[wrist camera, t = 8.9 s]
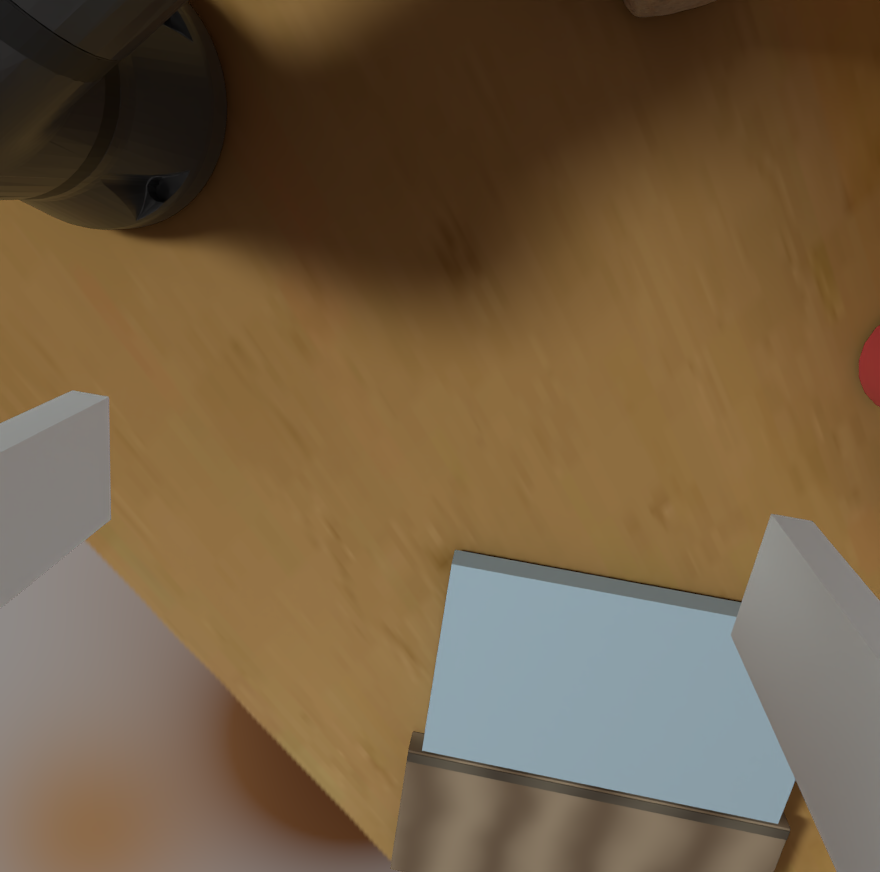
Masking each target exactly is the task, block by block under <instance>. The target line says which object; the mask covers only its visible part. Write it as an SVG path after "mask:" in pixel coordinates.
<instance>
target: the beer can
mask: <svg viewBox="0 0 880 872" xmlns="http://www.w3.org/2000/svg"><path fill="white" fill-rule="evenodd" d="M859 379H860V381H861V384H862V387H863V389H864V392H865V393H866V395H867V396H868V397H869V398H870V399H871V400H872V401H873V402H874V403H875V404H876V405H877V406H879V407H880V325H879V326H878V327H877V328H875V330H874V331H873V333H872V334H871V335H870V337H869V338H868V340H867V341H866V342H865V344H864V347H863V350H862V353H861V356H860V359H859Z"/></svg>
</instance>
